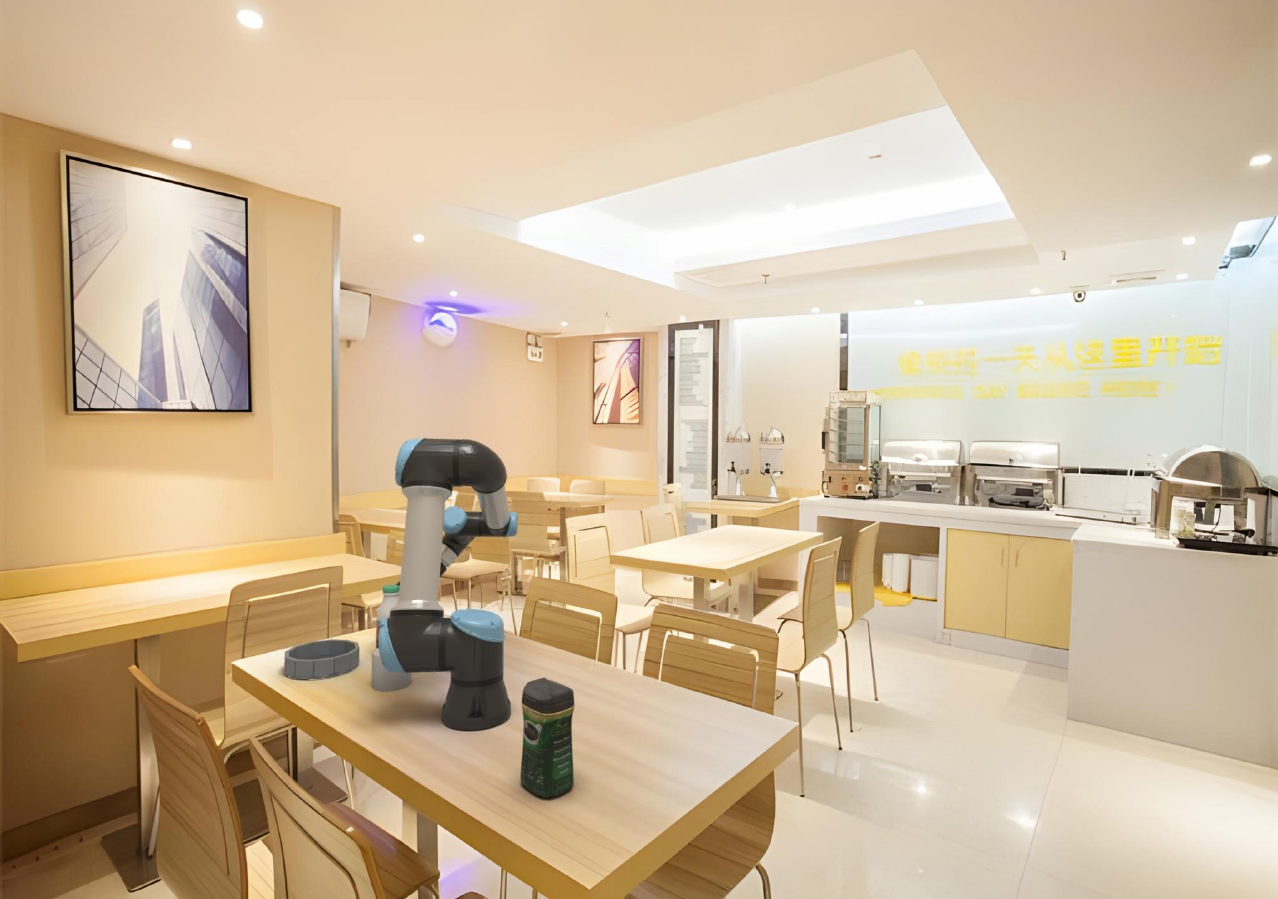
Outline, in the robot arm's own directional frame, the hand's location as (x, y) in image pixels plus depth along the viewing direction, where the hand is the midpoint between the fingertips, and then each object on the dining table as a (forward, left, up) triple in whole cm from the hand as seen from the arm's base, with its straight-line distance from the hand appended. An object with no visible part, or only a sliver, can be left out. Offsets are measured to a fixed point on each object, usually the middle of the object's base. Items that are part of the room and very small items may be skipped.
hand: (387, 618), depth 184 cm
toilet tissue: (-19, +13, -11) cm, 25 cm away
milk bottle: (-1, -1, -11) cm, 11 cm away
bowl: (+5, +16, -11) cm, 20 cm away
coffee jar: (-84, +29, -11) cm, 89 cm away
